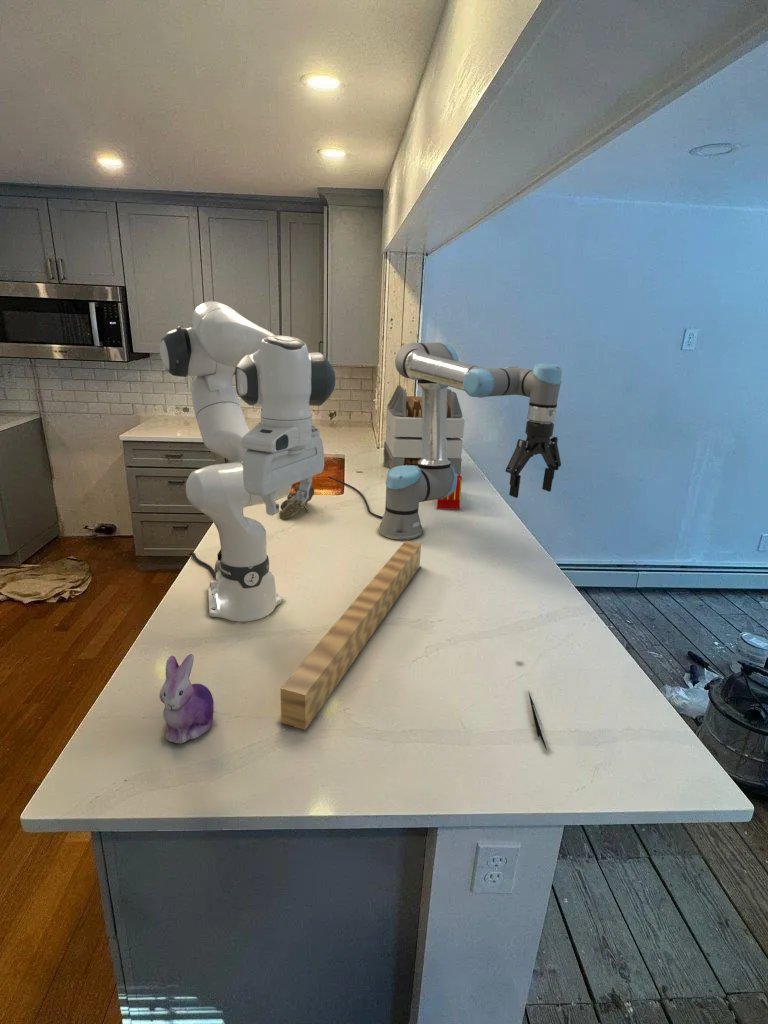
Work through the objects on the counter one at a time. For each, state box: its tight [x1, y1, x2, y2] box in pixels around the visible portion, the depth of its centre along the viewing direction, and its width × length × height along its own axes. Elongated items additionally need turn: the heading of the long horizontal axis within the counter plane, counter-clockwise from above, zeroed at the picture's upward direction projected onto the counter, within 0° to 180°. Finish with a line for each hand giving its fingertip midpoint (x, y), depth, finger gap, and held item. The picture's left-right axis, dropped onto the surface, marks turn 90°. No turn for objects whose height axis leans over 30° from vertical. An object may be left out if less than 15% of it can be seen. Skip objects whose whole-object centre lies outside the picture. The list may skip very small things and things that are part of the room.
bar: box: [280, 540, 422, 730], centre depth 140 cm, size 78×5×8 cm, turn 161°
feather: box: [528, 689, 548, 751], centre depth 116 cm, size 2×28×2 cm
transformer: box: [383, 384, 465, 476], centre depth 268 cm, size 34×33×41 cm
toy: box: [436, 475, 463, 510], centre depth 238 cm, size 12×13×30 cm
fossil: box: [278, 484, 315, 519], centre depth 216 cm, size 22×10×15 cm
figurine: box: [159, 653, 215, 744], centre depth 102 cm, size 9×10×15 cm
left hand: (288, 506), depth 105 cm, fingers open, 8 cm apart
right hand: (530, 493), depth 166 cm, fingers open, 13 cm apart
